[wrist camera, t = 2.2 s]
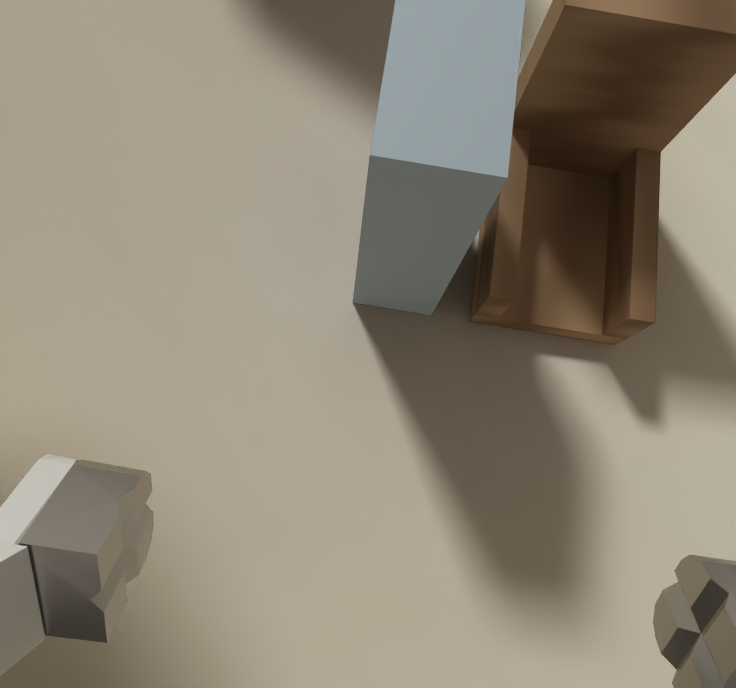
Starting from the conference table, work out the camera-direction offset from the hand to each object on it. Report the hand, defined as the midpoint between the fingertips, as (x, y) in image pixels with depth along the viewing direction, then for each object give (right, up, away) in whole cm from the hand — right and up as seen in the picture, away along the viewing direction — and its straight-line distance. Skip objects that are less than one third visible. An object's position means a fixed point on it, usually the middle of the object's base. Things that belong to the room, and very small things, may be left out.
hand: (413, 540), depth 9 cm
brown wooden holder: (+8, +8, +19) cm, 22 cm away
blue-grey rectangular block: (+1, +7, +18) cm, 20 cm away
